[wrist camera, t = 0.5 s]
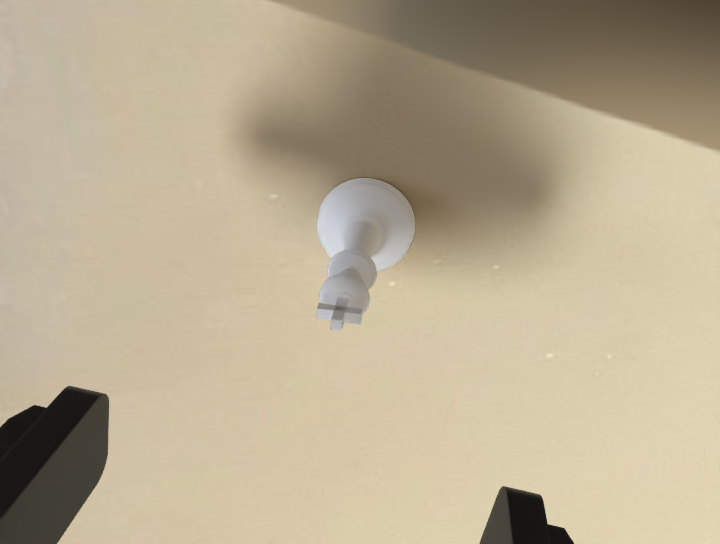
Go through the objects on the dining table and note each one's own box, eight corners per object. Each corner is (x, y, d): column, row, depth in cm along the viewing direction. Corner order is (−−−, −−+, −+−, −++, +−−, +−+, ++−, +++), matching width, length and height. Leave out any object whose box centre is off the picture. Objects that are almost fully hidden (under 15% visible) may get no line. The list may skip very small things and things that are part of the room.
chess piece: (321, 171, 32) (272, 255, 23) (421, 184, 32) (411, 274, 23) (315, 262, 34) (268, 370, 25) (408, 274, 34) (395, 388, 25)
